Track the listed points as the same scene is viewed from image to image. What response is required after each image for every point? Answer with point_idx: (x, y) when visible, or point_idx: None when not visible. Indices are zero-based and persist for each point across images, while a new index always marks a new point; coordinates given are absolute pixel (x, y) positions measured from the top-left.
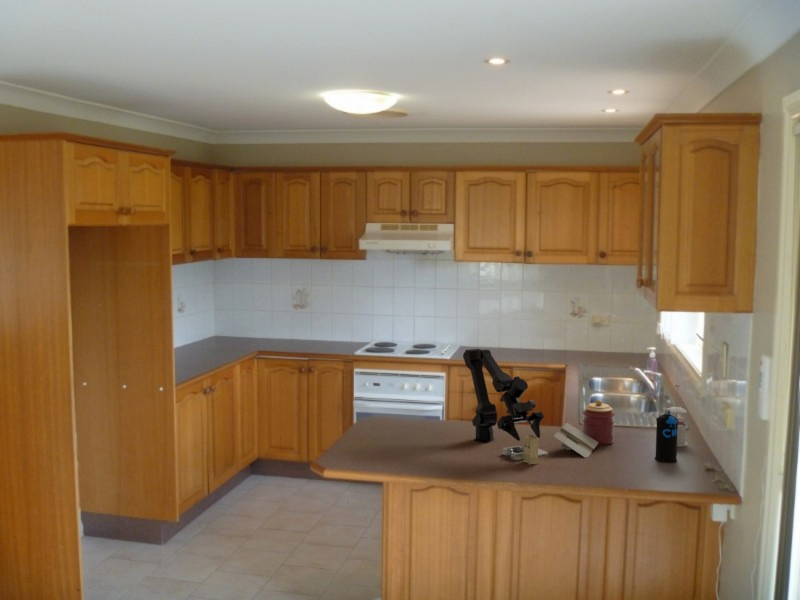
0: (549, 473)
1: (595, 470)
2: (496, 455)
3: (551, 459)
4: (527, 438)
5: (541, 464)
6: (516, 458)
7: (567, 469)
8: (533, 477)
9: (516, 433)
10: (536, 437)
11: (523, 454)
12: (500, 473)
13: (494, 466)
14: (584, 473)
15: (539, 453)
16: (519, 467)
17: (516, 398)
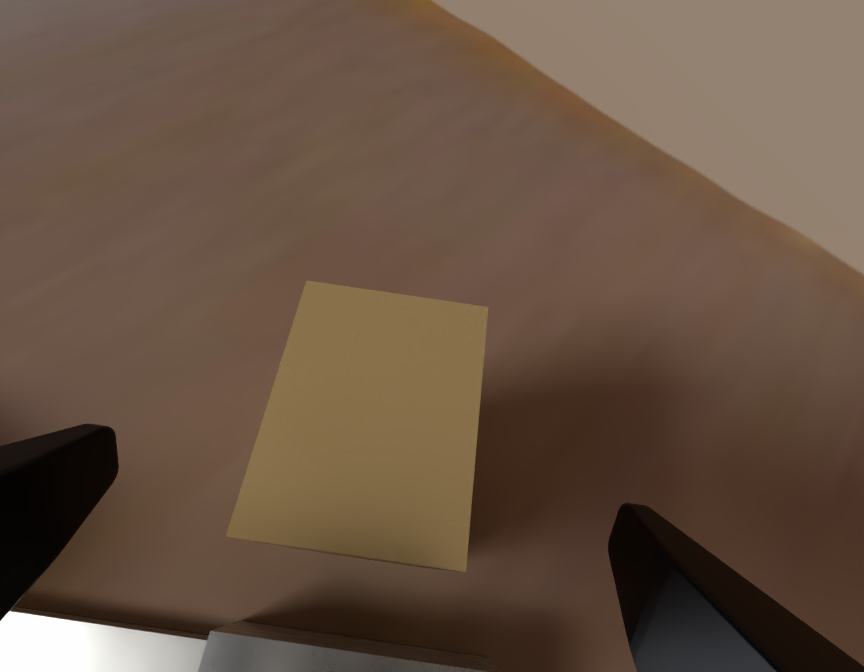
0: (458, 216)
1: (155, 110)
2: None
3: (131, 450)
4: (475, 420)
5: None
6: (475, 659)
7: (281, 205)
8: (611, 221)
9: (776, 620)
10: (304, 325)
11: (366, 651)
12: (816, 407)
13: (808, 614)
14: (265, 113)
15: (64, 662)
16: (580, 438)
17: None
